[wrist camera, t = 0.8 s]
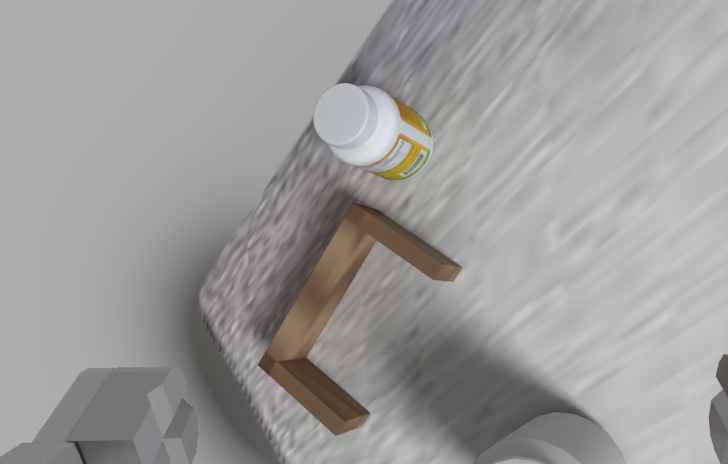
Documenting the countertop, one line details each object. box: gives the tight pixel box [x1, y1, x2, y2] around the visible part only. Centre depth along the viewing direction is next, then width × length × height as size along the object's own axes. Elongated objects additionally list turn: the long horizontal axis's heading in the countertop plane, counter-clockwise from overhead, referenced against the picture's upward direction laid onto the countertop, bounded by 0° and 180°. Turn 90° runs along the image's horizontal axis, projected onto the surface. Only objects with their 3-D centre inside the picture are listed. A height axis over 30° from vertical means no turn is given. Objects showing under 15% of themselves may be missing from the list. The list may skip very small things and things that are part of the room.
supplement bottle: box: [313, 83, 433, 181], centre depth 46 cm, size 5×5×10 cm
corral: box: [258, 203, 462, 436], centre depth 48 cm, size 14×8×4 cm, turn 145°
